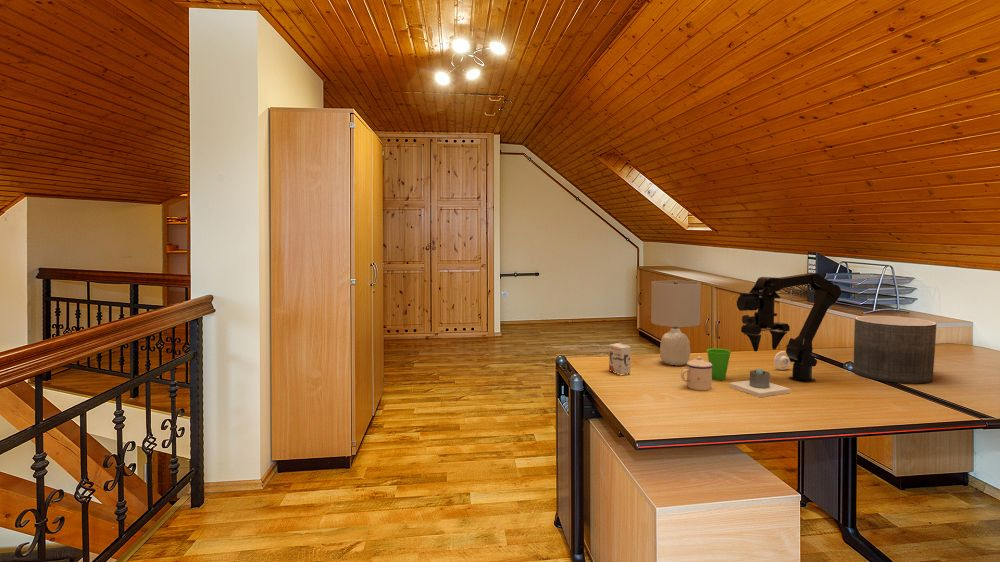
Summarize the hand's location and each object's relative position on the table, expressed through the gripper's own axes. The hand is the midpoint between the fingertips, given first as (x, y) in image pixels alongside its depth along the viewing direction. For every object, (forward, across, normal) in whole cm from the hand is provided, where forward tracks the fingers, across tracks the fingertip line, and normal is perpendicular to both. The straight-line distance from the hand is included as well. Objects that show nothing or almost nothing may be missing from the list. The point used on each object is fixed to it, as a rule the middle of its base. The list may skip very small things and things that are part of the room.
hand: (764, 350), depth 197 cm
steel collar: (+10, +11, +8) cm, 17 cm away
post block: (+12, +11, +8) cm, 18 cm away
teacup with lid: (+12, +30, -3) cm, 33 cm away
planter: (+12, -52, +13) cm, 55 cm away
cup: (+12, +13, -10) cm, 20 cm away
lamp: (+12, +13, -36) cm, 40 cm away
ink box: (+12, +44, -32) cm, 56 cm away
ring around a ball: (+12, -21, -11) cm, 27 cm away
